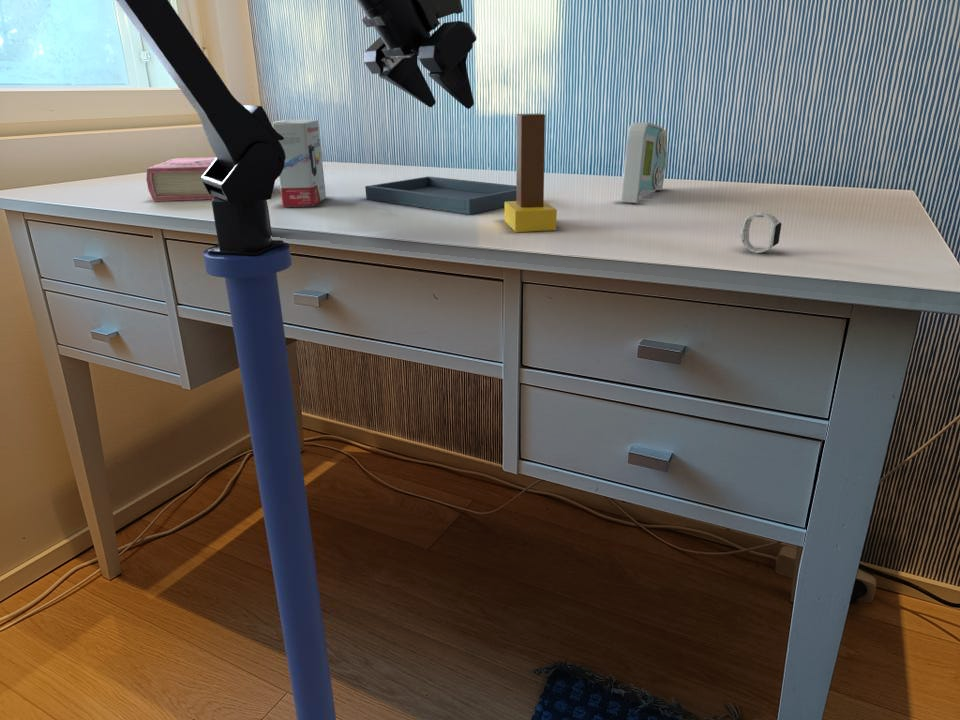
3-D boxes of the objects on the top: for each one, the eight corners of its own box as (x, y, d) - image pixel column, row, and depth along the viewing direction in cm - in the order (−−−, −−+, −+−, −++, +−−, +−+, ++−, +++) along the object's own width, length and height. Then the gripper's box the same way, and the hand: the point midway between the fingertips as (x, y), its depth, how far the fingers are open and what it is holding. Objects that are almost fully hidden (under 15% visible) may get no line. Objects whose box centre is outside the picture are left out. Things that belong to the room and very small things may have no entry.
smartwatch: (735, 251, 71) (741, 212, 69) (742, 247, 72) (748, 209, 71) (771, 256, 69) (778, 216, 67) (778, 252, 70) (784, 212, 69)
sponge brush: (515, 232, 81) (515, 116, 76) (504, 221, 88) (504, 113, 83) (556, 230, 82) (559, 115, 77) (542, 219, 88) (544, 112, 83)
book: (175, 187, 121) (169, 158, 119) (263, 185, 122) (259, 156, 120) (147, 201, 107) (141, 168, 106) (247, 198, 109) (242, 165, 107)
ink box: (314, 207, 100) (305, 121, 95) (280, 207, 100) (270, 122, 95) (327, 197, 108) (319, 118, 103) (296, 198, 108) (287, 118, 103)
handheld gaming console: (664, 202, 110) (638, 204, 97) (646, 201, 111) (619, 202, 99) (672, 129, 107) (647, 121, 94) (654, 129, 108) (627, 120, 96)
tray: (531, 200, 102) (531, 187, 101) (469, 214, 92) (469, 199, 92) (428, 188, 115) (428, 176, 114) (366, 199, 106) (365, 186, 105)
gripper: (471, -60, 75) (534, 64, 85) (390, -37, 90) (452, 67, 99) (403, 4, 73) (476, 124, 83) (331, 18, 87) (401, 119, 97)
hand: (451, 105), depth 91 cm, fingers open, 9 cm apart
